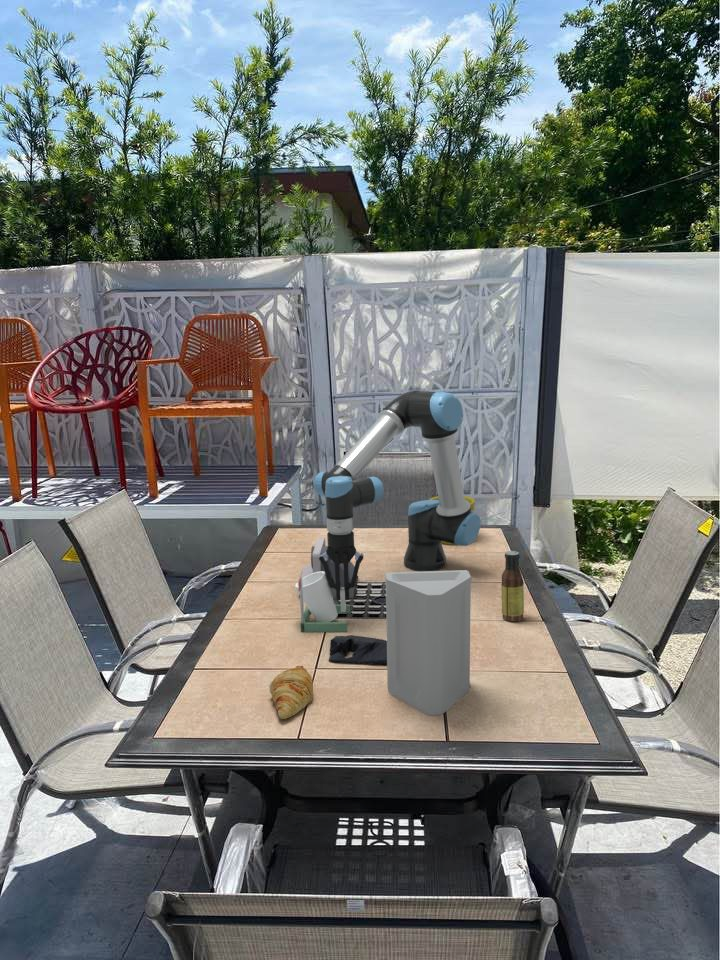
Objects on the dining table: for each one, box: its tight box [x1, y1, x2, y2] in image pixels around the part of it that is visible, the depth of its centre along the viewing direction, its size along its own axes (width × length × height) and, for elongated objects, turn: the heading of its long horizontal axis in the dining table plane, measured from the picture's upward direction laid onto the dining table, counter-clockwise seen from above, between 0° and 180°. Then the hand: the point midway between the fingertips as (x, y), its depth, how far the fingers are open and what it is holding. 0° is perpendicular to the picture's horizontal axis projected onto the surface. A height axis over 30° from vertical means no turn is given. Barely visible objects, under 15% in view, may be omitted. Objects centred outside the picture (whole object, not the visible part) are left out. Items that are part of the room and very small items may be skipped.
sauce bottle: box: [501, 550, 525, 623], centre depth 202 cm, size 7×6×20 cm
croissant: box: [269, 665, 314, 720], centre depth 162 cm, size 21×10×8 cm, turn 176°
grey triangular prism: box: [385, 569, 472, 716], centre depth 159 cm, size 19×15×28 cm
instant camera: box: [298, 536, 359, 600], centre depth 230 cm, size 21×21×15 cm
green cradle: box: [297, 574, 351, 633], centre depth 201 cm, size 13×18×16 cm
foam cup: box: [294, 571, 338, 622], centre depth 203 cm, size 10×9×13 cm
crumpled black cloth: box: [328, 635, 387, 665], centre depth 184 cm, size 15×22×5 cm
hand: (343, 610), depth 203 cm, fingers closed
